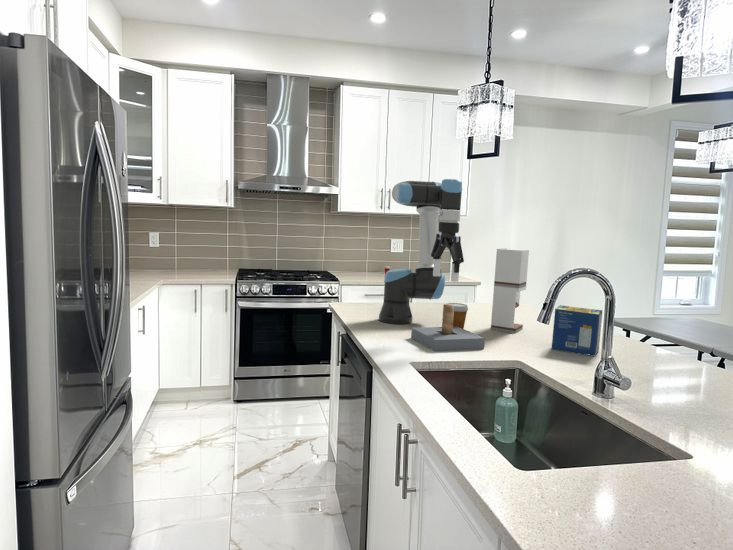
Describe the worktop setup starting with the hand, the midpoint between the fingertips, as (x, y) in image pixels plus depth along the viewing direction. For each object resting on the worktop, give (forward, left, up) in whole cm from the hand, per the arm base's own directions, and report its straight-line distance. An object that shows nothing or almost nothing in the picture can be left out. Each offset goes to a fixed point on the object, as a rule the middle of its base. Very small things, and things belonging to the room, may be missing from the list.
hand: (445, 278), depth 193 cm
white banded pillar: (-16, +41, -24) cm, 50 cm away
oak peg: (+2, +1, -23) cm, 24 cm away
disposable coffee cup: (-12, +13, -24) cm, 30 cm away
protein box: (+20, +46, -24) cm, 56 cm away
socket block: (+3, +1, -24) cm, 24 cm away
